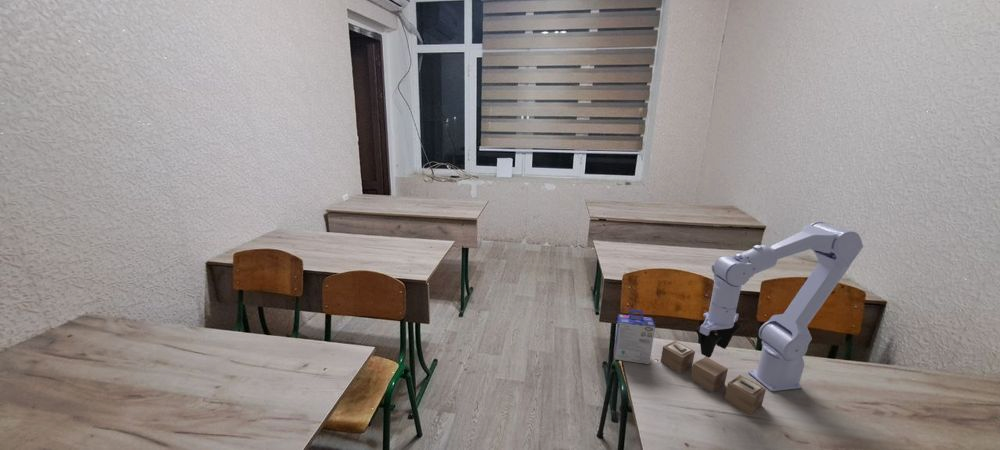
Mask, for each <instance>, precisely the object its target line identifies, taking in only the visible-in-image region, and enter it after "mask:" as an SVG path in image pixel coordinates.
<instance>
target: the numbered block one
mask: <svg viewBox="0 0 1000 450" xmlns="http://www.w3.org/2000/svg"><path fill="white" fill-rule="evenodd" d="M766 390H767V388H765V386H764V387H763V386H761V385H760V384H758V383H756V382H754V381H753V380H751V379H749V378H747V377H744V376H743V375H741V374H739V375H738V376H736V377H735V378H734V379H732V380H731V381H729V382H727V385H726V390H725V395H724V399H723V400H724V401H726V402H727V403H729V404H731V405H733V407H734V406H735V407H736V408H737V409H739V410H741V411H742V412H744V413H746V414H747V415H749V416H751V415H752V414H753V413H754V412H756V411H757V410H758V409H759V408H760V407H762V406H763V402H764V398H765V395H766Z"/></svg>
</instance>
